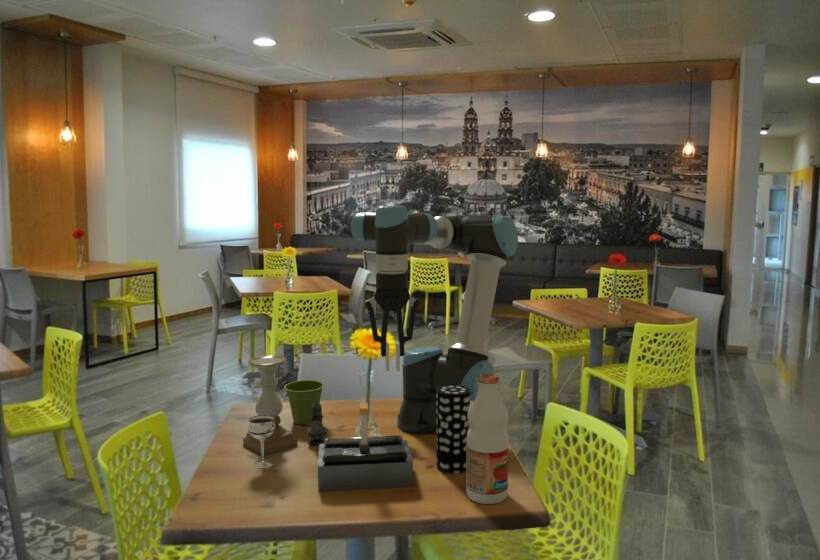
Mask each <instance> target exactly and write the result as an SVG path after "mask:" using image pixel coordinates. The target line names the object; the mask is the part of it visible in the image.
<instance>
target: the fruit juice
mask: <svg viewBox="0 0 820 560" xmlns="http://www.w3.org/2000/svg"><path fill="white" fill-rule="evenodd" d="M477 383H478V385H479V387H478V392H477V395H476V398H475V400H474V401H472V403H470V406H469V409H468V414H467V417H468V422H469V430H468V432H467V442H466V444H467V457H466V471H465V473H466V475H465V476H466V477H465V478H466V479H465V480H466V482H465V485H466V486H465V489H466V491H465V493H466V495H467V497H468V499H469V500H470V501H473V502H475V503H477V504H483V505H495V504H499V503H502V502H504V501H505V500H506V499H507V498H508V494H509V493H508V492H509V490H508V489H509V445H510V444H509V432H508V430H507V425H508V421H509V412H508V408H507V406H506V405H505V403H504V402H503V400H502V399H501V397H500V393H499V384H500V376H499V375H497V374H480V375H478V376H477Z"/></svg>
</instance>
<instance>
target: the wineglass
mask: <svg viewBox="0 0 820 560" xmlns="http://www.w3.org/2000/svg"><path fill="white" fill-rule="evenodd" d="M274 420H275V417H274V416H271V415H258V414H256V415H253V416H250V417H249V418H248V419H247V421H248V427H247V430H248V432H249V433H250V435H251V436H253V437H254V438H255V439H259V441H261V451H262V455H261V460H259V461H256V462H255V463H253V465H252V467H253V468H256V469H259V468H261V470H263V469H268V468H270V466H271V467H272V466H273V465H274V463H273V461H270V460H265V457H264V456H265V455H264V441H265V440H266V439H267V438H269V437H270V436H271V435H272V434H273V433H274V431H275V422H274ZM262 468H263V469H262Z"/></svg>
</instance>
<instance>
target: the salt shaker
mask: <svg viewBox="0 0 820 560" xmlns="http://www.w3.org/2000/svg"><path fill="white" fill-rule="evenodd" d="M322 409H323V408H322V404H321V403H320V404H319V403H317V400H316V403H315V404H313V405H312V406H311V411H312V415H311V416H310V418H311V423H312V424H310V426H309V427H308V428H307V429H306V433H307V436H308V438H309V440H308V441H307V445H309V444H310V445H309V446H312V445H314V447H319V444H324V440H325V439H326V438H325V437H326V436H327V433H328V430H329V429H328V427H326V426H324V424H323V418H324V415H323V410H322ZM315 445H316V446H315Z"/></svg>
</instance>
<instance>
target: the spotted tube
mask: <svg viewBox="0 0 820 560" xmlns="http://www.w3.org/2000/svg"><path fill="white" fill-rule="evenodd" d="M470 405H471V401H470V389H469V388H468V387H465V386H461V385H444V386H440V387H438V388H437V389H436V432H435V433H436V437H435V438H436V441H435V442H436V445H435V448H436V450H435V451H436V453H435V454H436V457H435V458H436V460H435V461H436V464H435V465H436V469H437V470H438V471H441V472H442V473H445V474H462V473H466V457H467V444H466V442H467V432H468V430H469V422H468V417H467V414H468V409H469V406H470Z"/></svg>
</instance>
